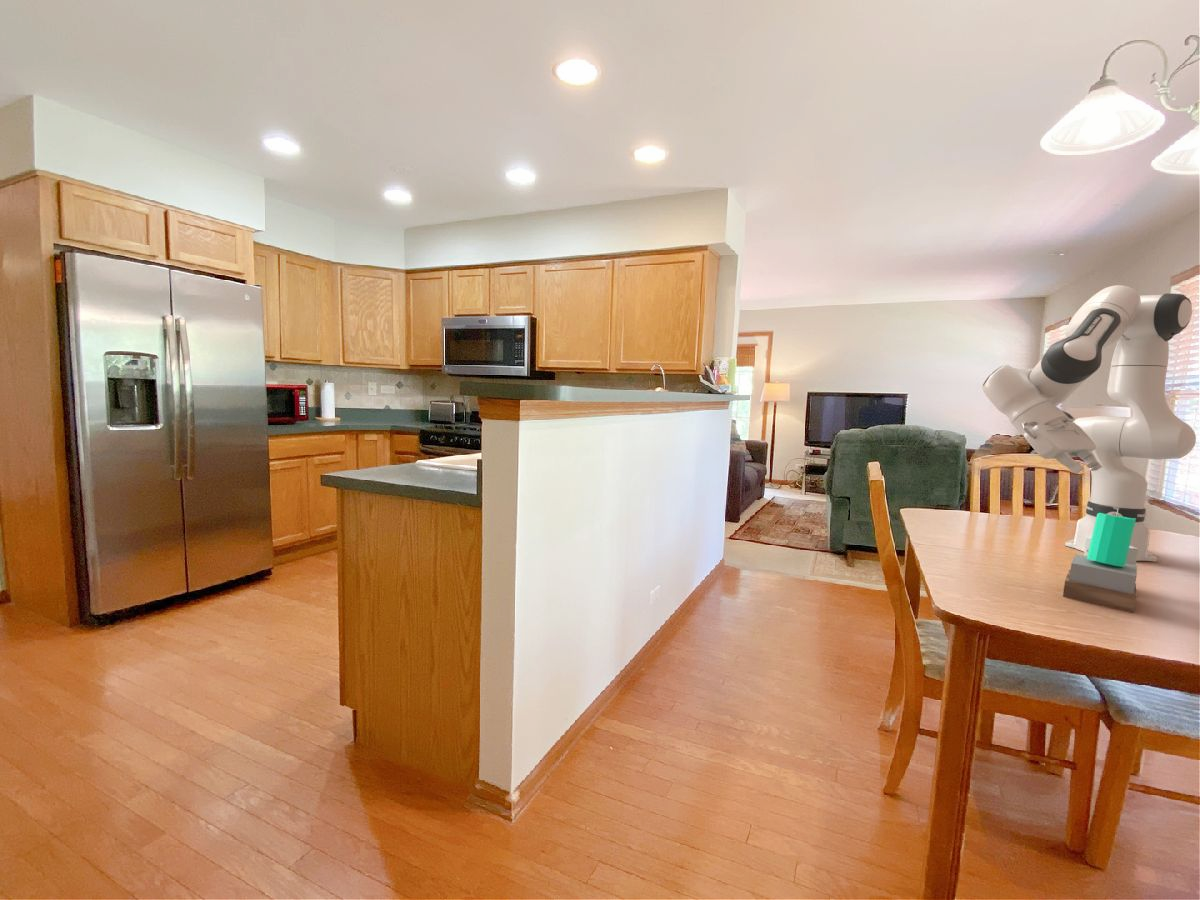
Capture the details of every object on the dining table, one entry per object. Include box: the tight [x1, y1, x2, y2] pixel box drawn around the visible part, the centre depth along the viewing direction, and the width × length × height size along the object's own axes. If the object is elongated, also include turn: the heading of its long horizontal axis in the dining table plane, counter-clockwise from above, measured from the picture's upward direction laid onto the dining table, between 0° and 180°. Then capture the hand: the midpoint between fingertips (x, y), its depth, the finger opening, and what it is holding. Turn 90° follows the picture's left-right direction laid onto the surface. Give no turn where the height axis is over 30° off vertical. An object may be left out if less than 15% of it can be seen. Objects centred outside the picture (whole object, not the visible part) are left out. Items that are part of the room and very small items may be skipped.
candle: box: [1087, 509, 1136, 567], centre depth 114 cm, size 6×6×12 cm
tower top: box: [1069, 554, 1138, 595], centre depth 115 cm, size 10×10×4 cm
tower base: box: [1062, 569, 1137, 614], centre depth 115 cm, size 11×11×4 cm
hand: (1088, 470), depth 116 cm, fingers open, 8 cm apart
